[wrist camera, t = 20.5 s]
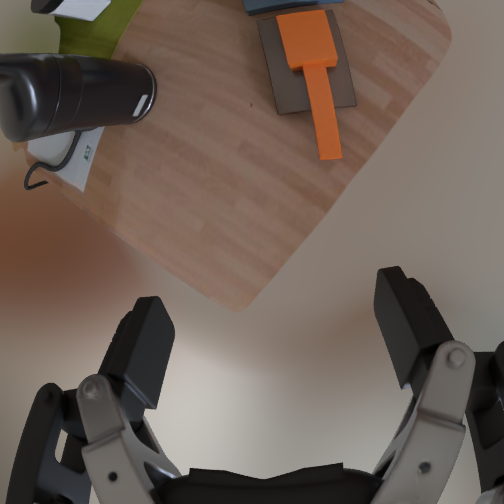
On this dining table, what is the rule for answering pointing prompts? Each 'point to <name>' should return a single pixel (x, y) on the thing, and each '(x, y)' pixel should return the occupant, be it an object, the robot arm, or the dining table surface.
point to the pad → (293, 82)
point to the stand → (279, 4)
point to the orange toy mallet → (314, 71)
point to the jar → (70, 8)
